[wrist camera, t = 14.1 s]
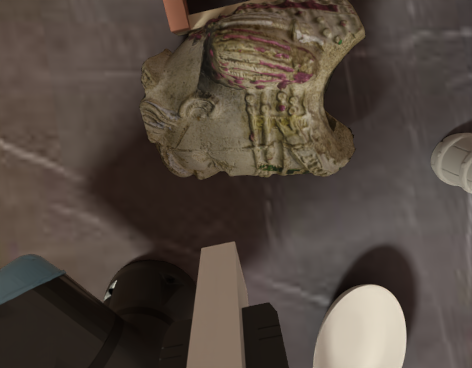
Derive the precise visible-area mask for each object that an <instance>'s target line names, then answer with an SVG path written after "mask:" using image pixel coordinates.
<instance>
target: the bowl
mask: <svg viewBox="0 0 472 368" xmlns="http://www.w3.org/2000/svg"><path fill="white" fill-rule="evenodd" d="M405 350H406V324H405V319H404V315H403V311H402V309H401V306H400V304H399V302H398V301H397V299H396V298H395V296H394V295H393V294H392V293H391V292H390V291H389V290H387V289H386V288H384V287H382V286H379V285H375V284H362V285H358V286H355V287H352V288H350V289H348V290H346V291H345V292H343V293H342V294H341V295H340V296H339V297H338V298H337V299H336V300H335V301H334V302H333V304H332V305H331V306H330V308H329V309H328V311H327V313H326V315H325V317H324V319H323V321H322V324H321V327H320V330H319V333H318V337H317V341H316V346H315V352H314V361H313V368H402V365H403V361H404V356H405Z"/></svg>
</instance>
